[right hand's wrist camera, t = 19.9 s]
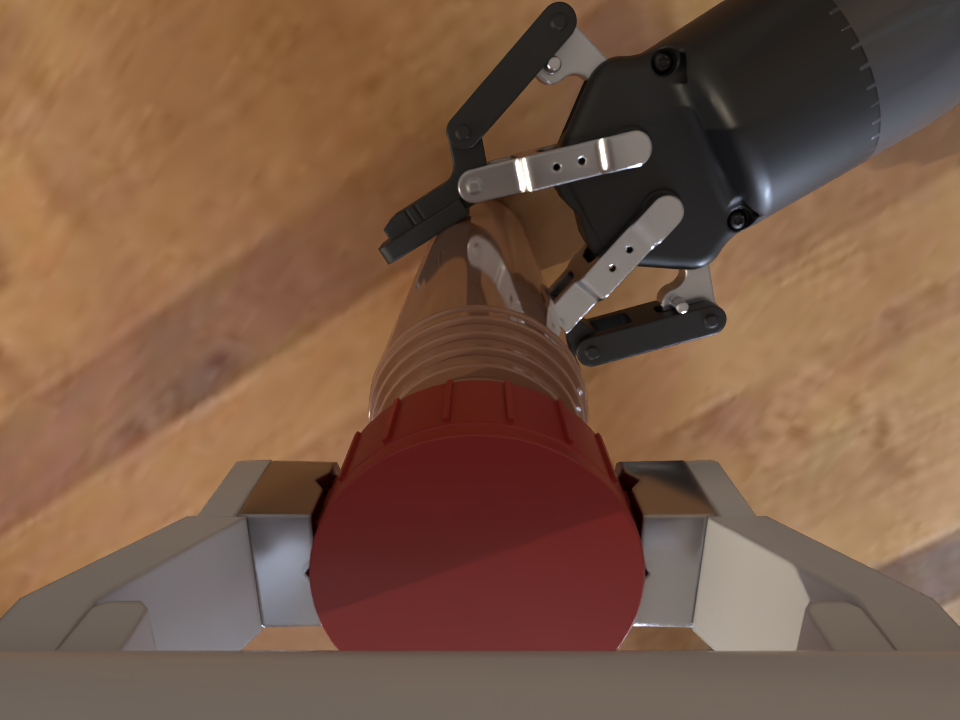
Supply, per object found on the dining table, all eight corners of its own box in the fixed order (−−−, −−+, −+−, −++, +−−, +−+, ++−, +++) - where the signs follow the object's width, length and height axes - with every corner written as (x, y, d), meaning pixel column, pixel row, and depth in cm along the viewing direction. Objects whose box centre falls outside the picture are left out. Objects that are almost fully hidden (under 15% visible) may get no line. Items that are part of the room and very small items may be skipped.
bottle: (519, 190, 31) (628, 380, 8) (531, 283, 32) (651, 660, 10) (425, 205, 31) (276, 430, 8) (441, 296, 33) (352, 695, 10)
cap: (484, 667, 11) (486, 762, 10) (275, 516, 10) (234, 593, 8) (680, 502, 10) (720, 578, 8) (467, 313, 9) (464, 357, 7)
